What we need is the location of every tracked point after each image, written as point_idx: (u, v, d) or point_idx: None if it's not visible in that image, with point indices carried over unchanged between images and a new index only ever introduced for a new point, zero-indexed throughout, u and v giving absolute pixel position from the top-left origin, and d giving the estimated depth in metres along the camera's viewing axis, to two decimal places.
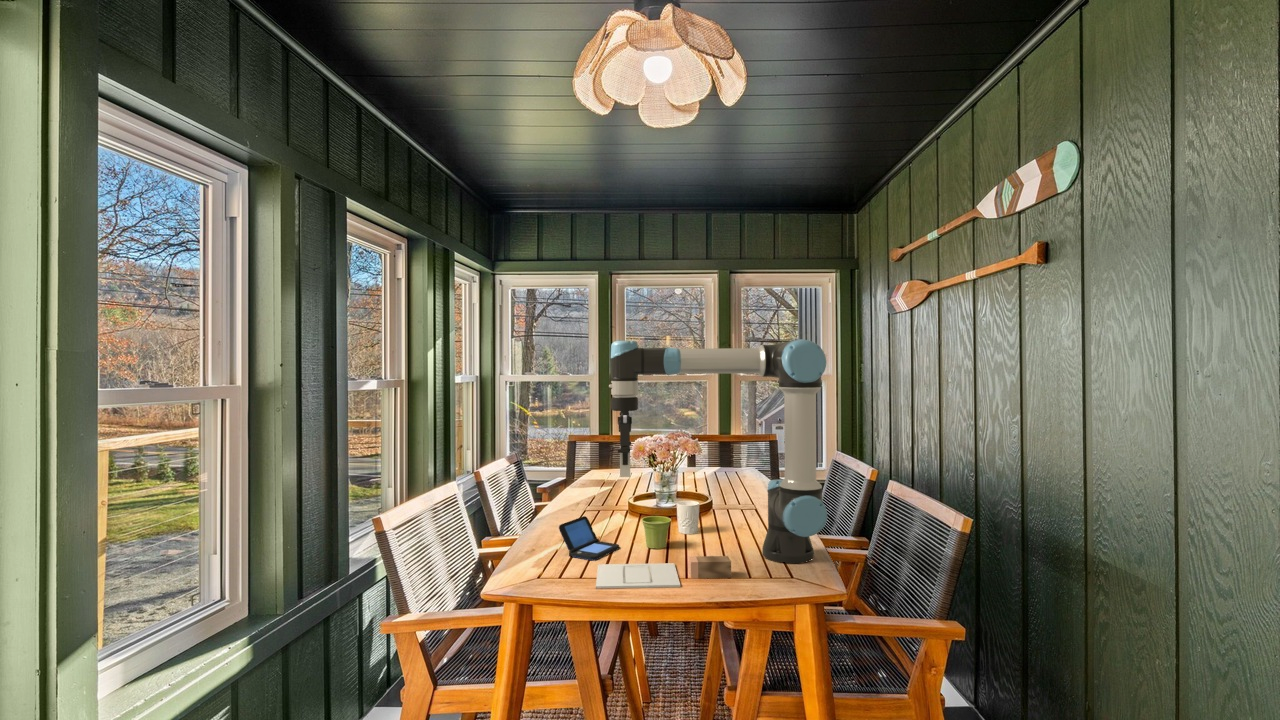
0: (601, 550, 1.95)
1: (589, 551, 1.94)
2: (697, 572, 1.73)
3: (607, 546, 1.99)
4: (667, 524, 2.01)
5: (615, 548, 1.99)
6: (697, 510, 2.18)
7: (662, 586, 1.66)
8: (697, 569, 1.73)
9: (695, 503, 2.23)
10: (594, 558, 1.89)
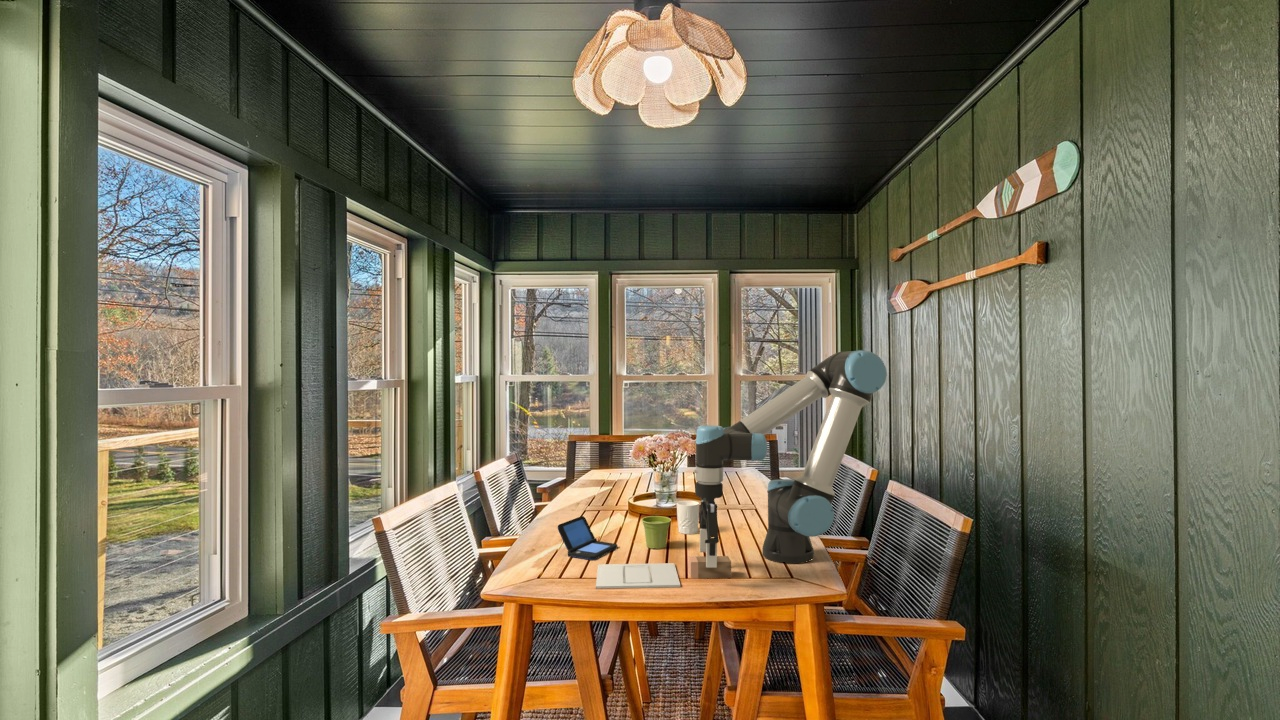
0: (600, 550, 1.95)
1: (588, 551, 1.94)
2: (697, 572, 1.73)
3: (605, 546, 2.00)
4: (667, 524, 2.01)
5: (613, 548, 2.00)
6: (697, 510, 2.18)
7: (662, 586, 1.66)
8: (697, 569, 1.73)
9: (695, 503, 2.23)
10: (593, 558, 1.90)
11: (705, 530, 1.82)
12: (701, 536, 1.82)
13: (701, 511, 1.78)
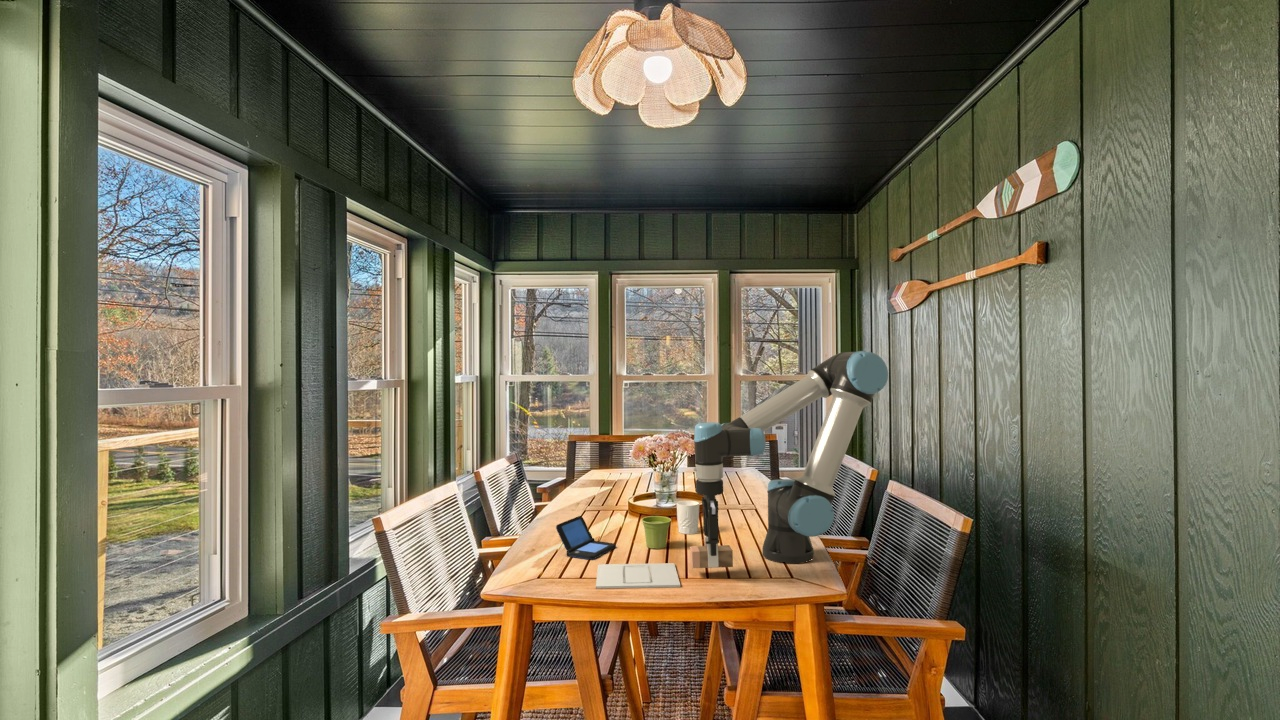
0: (598, 549, 1.96)
1: (587, 550, 1.95)
2: (699, 561, 1.73)
3: (604, 545, 2.00)
4: (667, 524, 2.01)
5: (612, 547, 2.00)
6: (697, 510, 2.18)
7: (662, 586, 1.66)
8: (698, 558, 1.73)
9: (695, 503, 2.23)
10: (592, 557, 1.90)
11: None
12: (706, 544, 1.78)
13: (703, 510, 1.77)
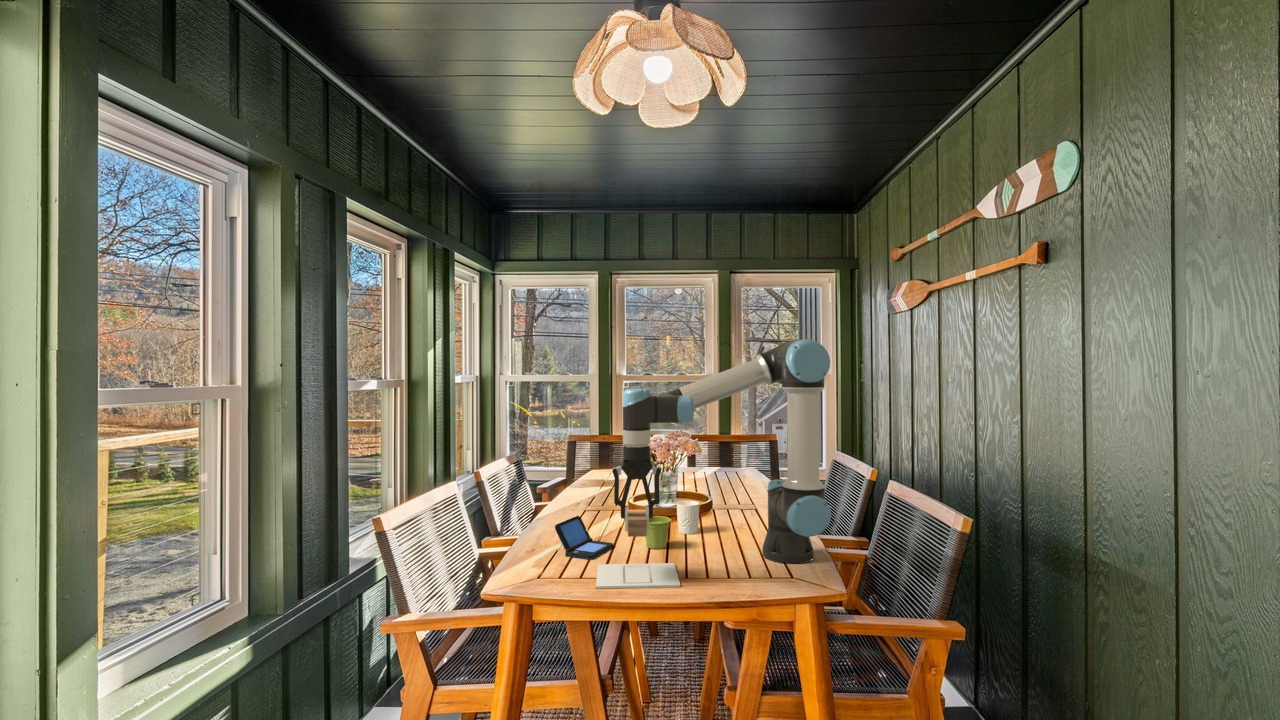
0: (597, 549, 1.96)
1: (585, 550, 1.95)
2: None
3: (602, 545, 2.01)
4: (667, 524, 2.01)
5: (610, 547, 2.01)
6: (697, 510, 2.18)
7: (662, 586, 1.66)
8: None
9: (695, 503, 2.23)
10: (591, 557, 1.90)
11: None
12: None
13: None
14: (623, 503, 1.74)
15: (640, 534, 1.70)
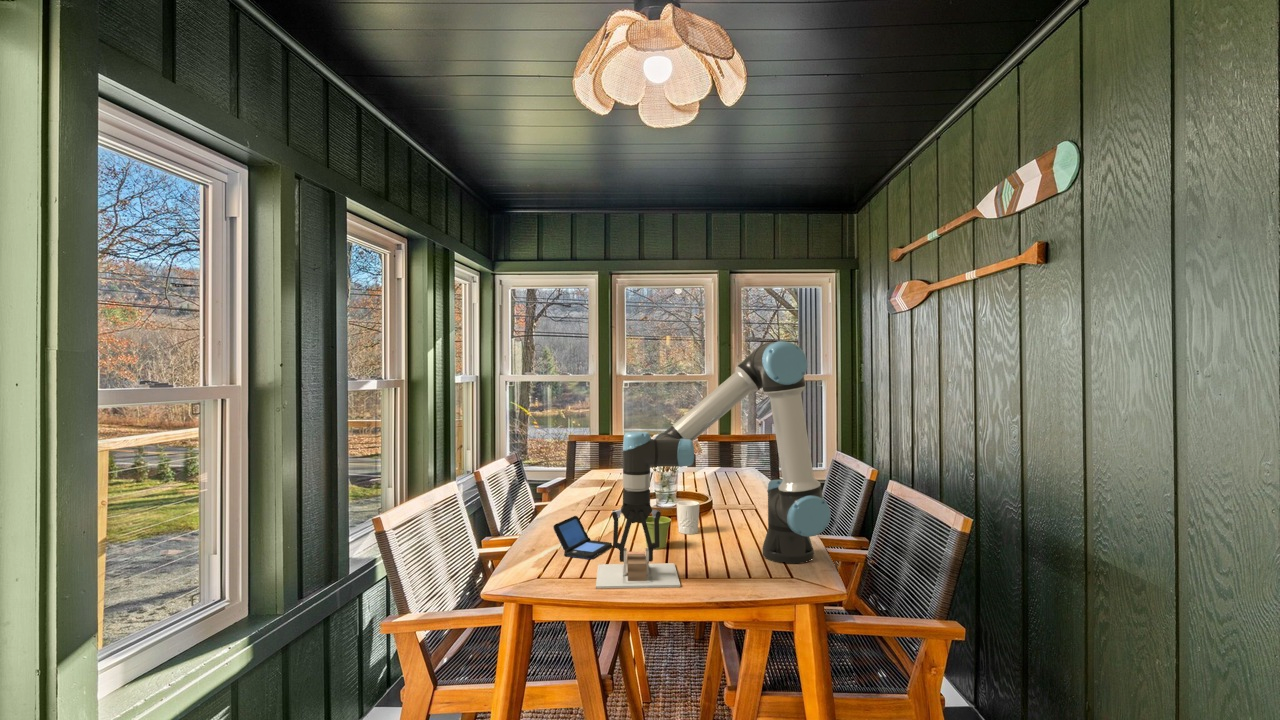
0: (596, 549, 1.97)
1: (584, 550, 1.95)
2: None
3: (600, 545, 2.01)
4: (667, 524, 2.01)
5: (608, 546, 2.01)
6: (697, 510, 2.18)
7: (662, 586, 1.66)
8: None
9: (695, 503, 2.23)
10: (591, 557, 1.90)
11: None
12: None
13: None
14: (622, 546, 1.74)
15: (640, 578, 1.70)
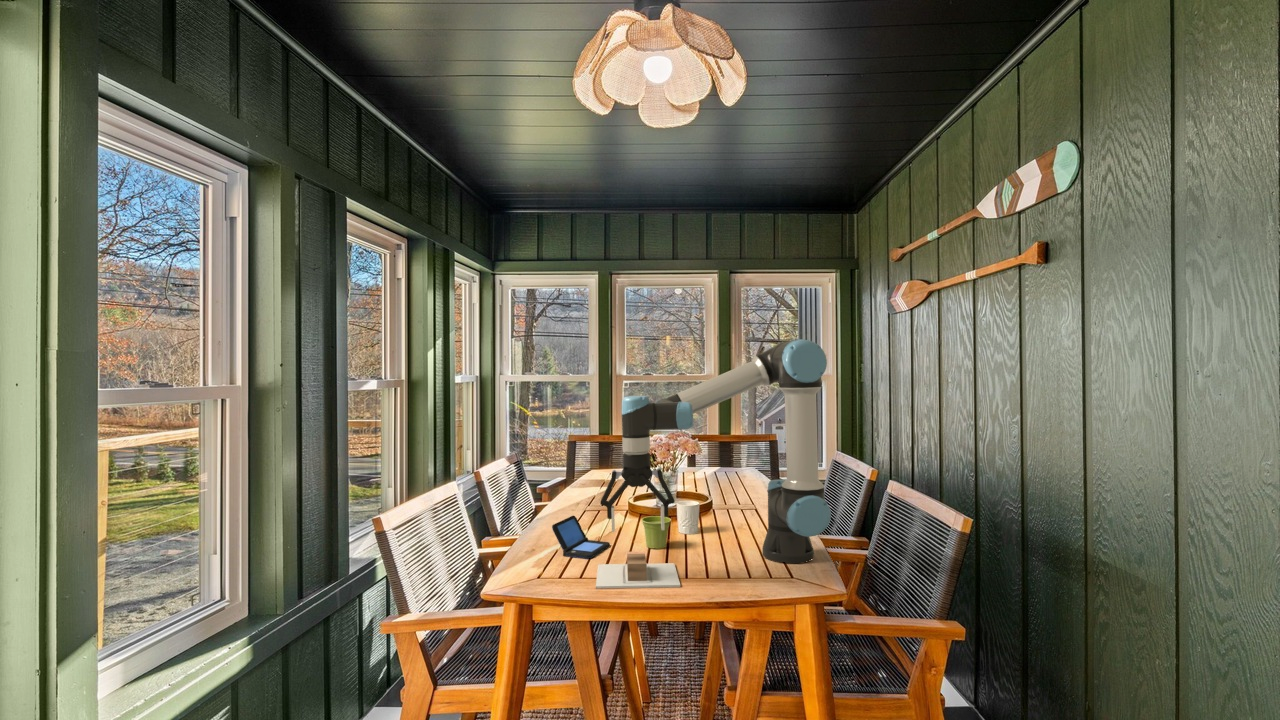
0: (594, 548, 1.97)
1: (583, 550, 1.95)
2: None
3: (599, 544, 2.01)
4: (667, 524, 2.01)
5: (607, 546, 2.02)
6: (697, 510, 2.18)
7: (662, 586, 1.66)
8: None
9: (695, 503, 2.23)
10: (590, 556, 1.91)
11: None
12: None
13: None
14: (610, 504, 1.74)
15: (640, 578, 1.70)
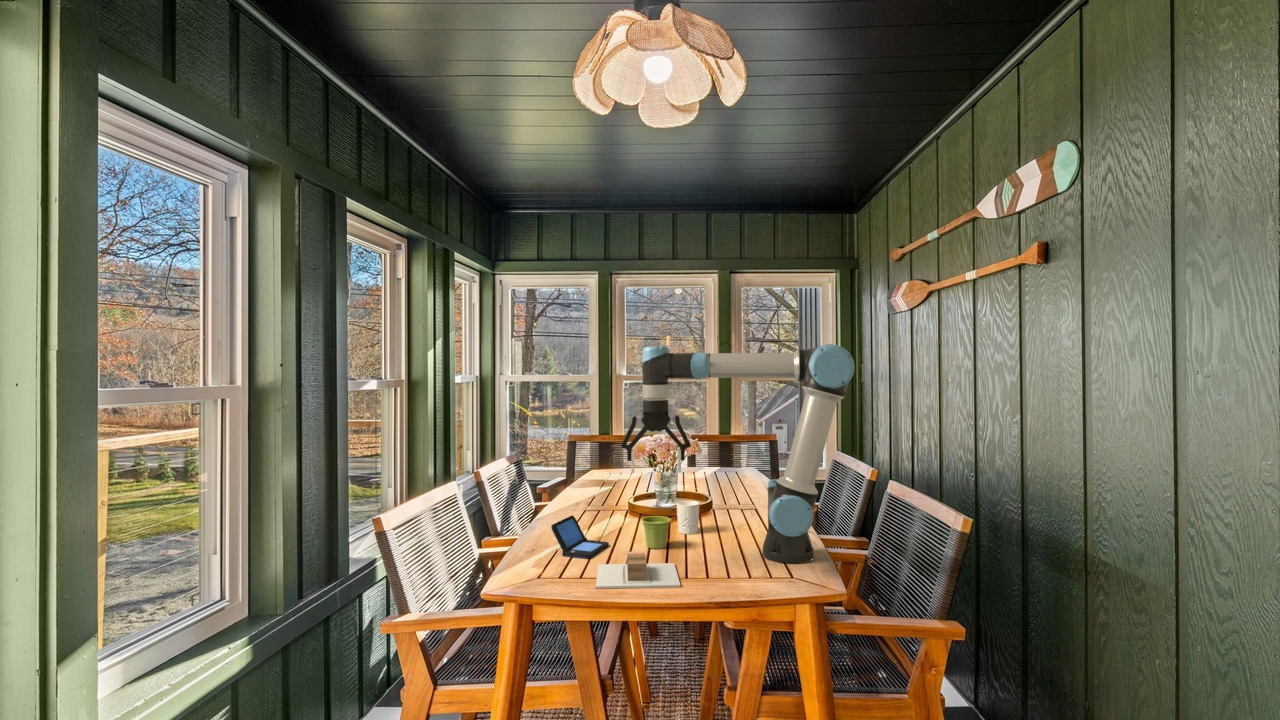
0: (593, 548, 1.97)
1: (582, 550, 1.95)
2: None
3: (598, 544, 2.02)
4: (667, 524, 2.01)
5: (606, 546, 2.02)
6: (697, 510, 2.18)
7: (662, 586, 1.66)
8: None
9: (695, 503, 2.23)
10: (589, 556, 1.91)
11: (677, 450, 1.86)
12: (677, 455, 1.87)
13: None
14: (630, 447, 1.85)
15: (640, 578, 1.70)
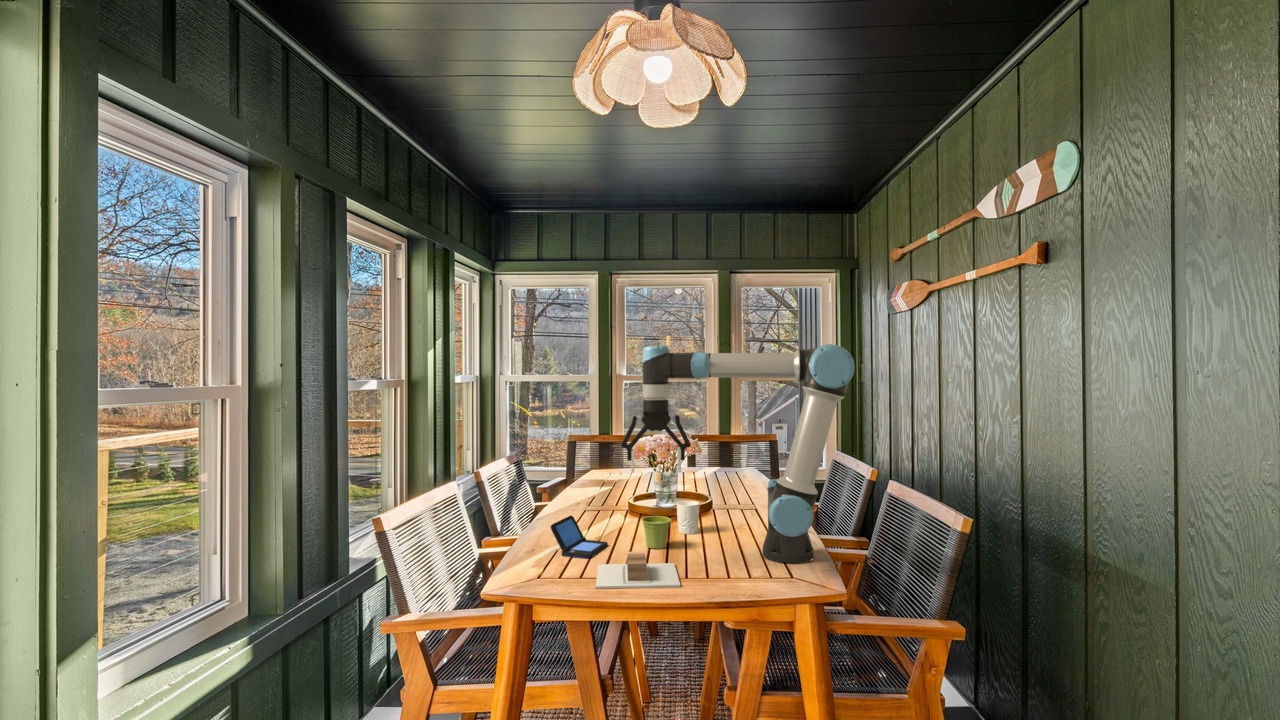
0: (593, 548, 1.97)
1: (581, 549, 1.96)
2: None
3: (597, 544, 2.02)
4: (667, 524, 2.01)
5: (605, 546, 2.02)
6: (697, 510, 2.18)
7: (662, 586, 1.66)
8: None
9: (695, 503, 2.23)
10: (589, 556, 1.91)
11: (677, 450, 1.86)
12: None
13: None
14: (630, 446, 1.85)
15: (640, 578, 1.70)
